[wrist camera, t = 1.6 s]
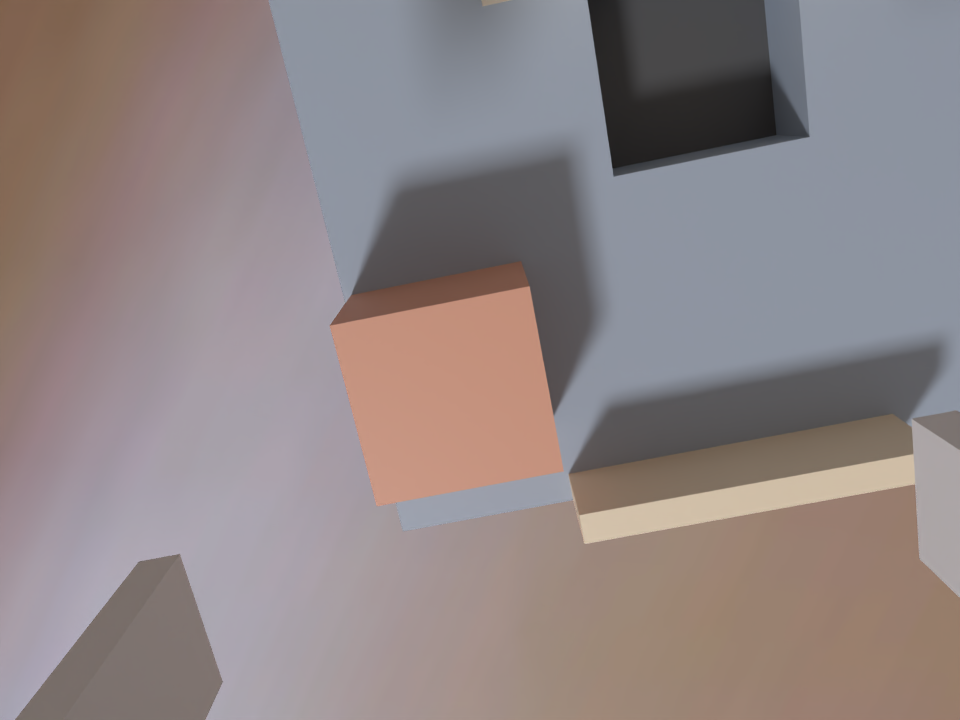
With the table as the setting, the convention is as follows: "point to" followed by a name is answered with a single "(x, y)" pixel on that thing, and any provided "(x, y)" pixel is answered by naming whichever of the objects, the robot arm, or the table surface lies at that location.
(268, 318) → the table surface
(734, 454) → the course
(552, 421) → the block
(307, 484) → the table surface
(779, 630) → the table surface
